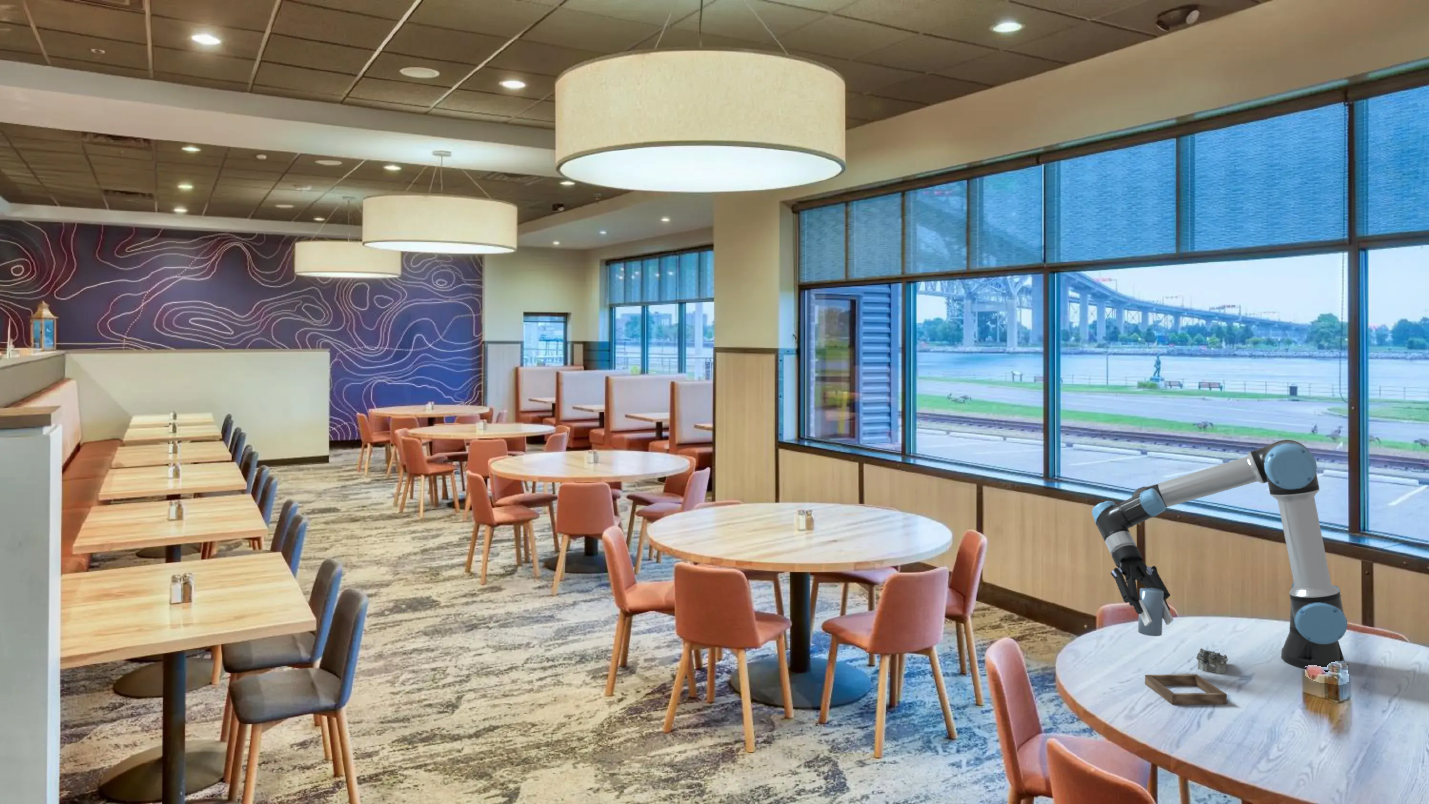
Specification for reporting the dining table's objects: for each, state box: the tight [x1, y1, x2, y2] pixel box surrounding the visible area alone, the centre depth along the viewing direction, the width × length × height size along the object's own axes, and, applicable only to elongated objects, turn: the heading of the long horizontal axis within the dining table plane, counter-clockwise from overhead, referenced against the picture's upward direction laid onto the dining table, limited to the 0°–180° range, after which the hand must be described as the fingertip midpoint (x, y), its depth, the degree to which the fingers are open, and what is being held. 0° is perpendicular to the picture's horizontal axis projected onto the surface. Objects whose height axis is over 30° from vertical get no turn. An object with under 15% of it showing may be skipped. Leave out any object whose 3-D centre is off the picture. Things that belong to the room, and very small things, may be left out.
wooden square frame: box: [1144, 673, 1228, 705], centre depth 243 cm, size 14×14×2 cm
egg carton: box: [1195, 647, 1229, 675], centre depth 262 cm, size 11×8×4 cm
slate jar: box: [1137, 587, 1164, 637], centre depth 260 cm, size 6×6×12 cm
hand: (1159, 622), depth 256 cm, fingers closed on slate jar, 6 cm apart
